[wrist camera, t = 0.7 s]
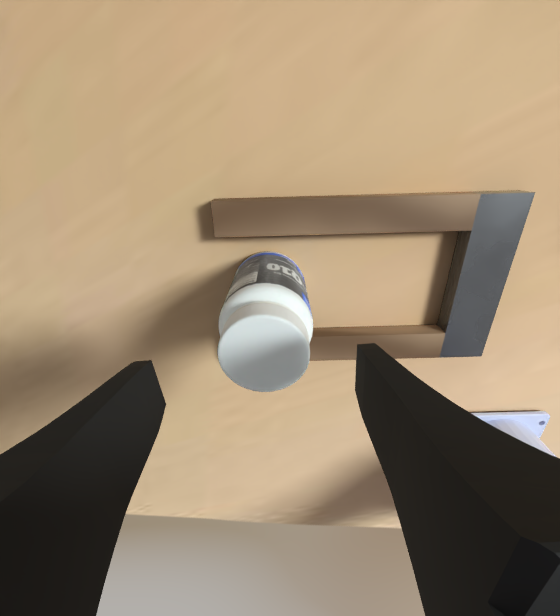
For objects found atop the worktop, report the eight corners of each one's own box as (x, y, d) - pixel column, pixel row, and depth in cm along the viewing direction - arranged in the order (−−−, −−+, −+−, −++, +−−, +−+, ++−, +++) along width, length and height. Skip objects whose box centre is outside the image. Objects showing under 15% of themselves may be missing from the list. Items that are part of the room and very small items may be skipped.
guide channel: (431, 347, 23) (439, 357, 22) (232, 353, 23) (229, 362, 22) (468, 191, 18) (480, 194, 17) (214, 198, 18) (210, 201, 17)
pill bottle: (318, 285, 20) (343, 360, 13) (267, 327, 22) (263, 416, 14) (270, 234, 19) (265, 284, 11) (219, 282, 20) (184, 355, 13)
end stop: (471, 346, 23) (481, 356, 22) (431, 347, 23) (439, 357, 22) (519, 190, 18) (534, 192, 17) (468, 191, 18) (480, 194, 17)
